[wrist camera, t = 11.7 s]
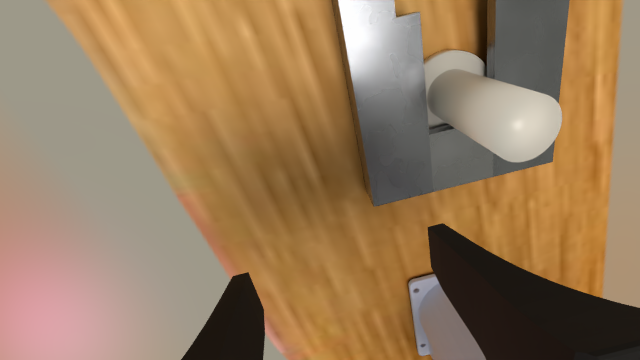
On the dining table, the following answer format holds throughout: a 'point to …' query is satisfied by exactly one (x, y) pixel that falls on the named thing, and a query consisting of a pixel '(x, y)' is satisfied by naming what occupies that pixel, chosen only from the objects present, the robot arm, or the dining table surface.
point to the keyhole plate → (410, 92)
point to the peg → (489, 107)
